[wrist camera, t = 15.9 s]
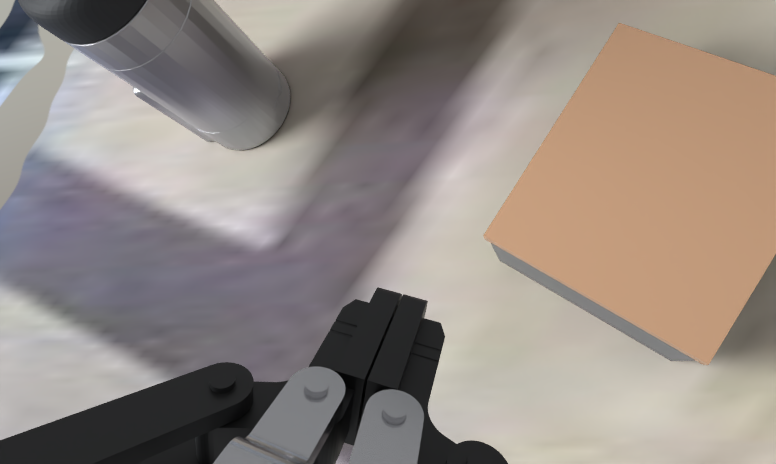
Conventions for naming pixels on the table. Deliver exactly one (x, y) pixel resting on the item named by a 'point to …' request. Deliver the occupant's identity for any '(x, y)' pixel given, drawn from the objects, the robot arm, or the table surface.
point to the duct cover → (655, 190)
